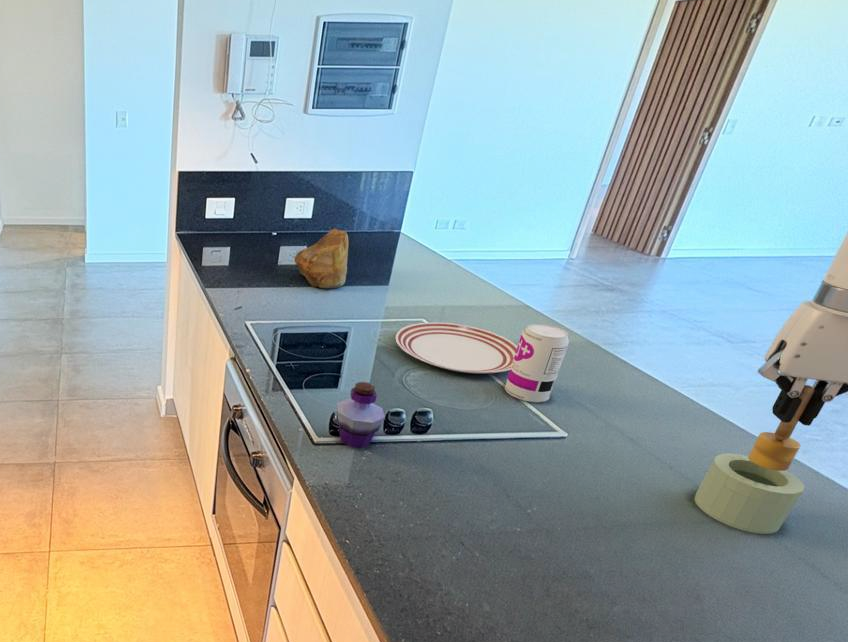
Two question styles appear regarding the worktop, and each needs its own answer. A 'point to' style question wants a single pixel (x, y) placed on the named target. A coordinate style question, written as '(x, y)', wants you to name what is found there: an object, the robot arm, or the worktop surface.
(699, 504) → the pale green hollow cylinder
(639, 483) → the worktop surface
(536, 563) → the worktop surface
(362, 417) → the potion bottle
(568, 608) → the worktop surface
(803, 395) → the peg with round base
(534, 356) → the supplement can
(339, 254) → the rough brown rock
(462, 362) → the dinner plate
